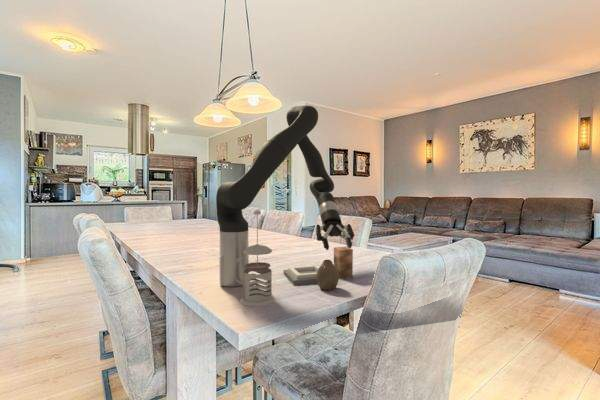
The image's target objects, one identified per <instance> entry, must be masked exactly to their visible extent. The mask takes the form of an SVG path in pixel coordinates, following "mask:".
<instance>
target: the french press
mask: <svg viewBox="0 0 600 400" xmlns="http://www.w3.org/2000/svg"><path fill="white" fill-rule="evenodd" d="M261 214H262V213H261V211H260V210H259V209H256V210H255V211H253V215H256V244H254V245H250V246H249V247H247V248H246V249H244V250H243V253H244V254H247V255H249V256H256V261H255V262H249V263H248V264H246V265H245V268H247V269H245V270H244V283H243V282H241V281H238V280H237V279H236V277H235V267H234V265H235V266H236V264H237V263H238V261H239V260H241V259H242V258H243V262H245V258H244V257H243V256H241V257H242V258H241V257H239V258H241V259H239V258H238V259H239V260H238V259H237V260H238V261H237V260H236V261H237V262H236V261H235V263H236V264H235V263H234V265H233V275H234V278H235V279H236V281H237V282H238V283H240V282H241V283H240V284H243V285H242V297H241V298H240V299H239V303H240V302H241V305H243V304H244V305H245V306H247V307H248V306H249V307H263V306H269V305H271V304H273V303H274V302H275V301H276V297H275V296H274V295H273V294H272V291H273V290H272V287H273V286H272V284H273V283H272V282H273V281H272V277H273V276H272V274H273V273H272V269H271V268H270V267H271V264H270V263H269V262H260V261H259V256H262V255H269V254H271V253H272V252H273V250H272V249H271V248H270V247H268V246H267V245H262V244H259V237H258V236H259V235H258V234H259V231H258V229H259V228H258V227H259V226H258V225H259V223H258V221H259V220H258V215H261ZM252 272H253V273H252ZM247 273H249V274H247ZM256 273H257V274H256Z"/></svg>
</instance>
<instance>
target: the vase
mask: <svg viewBox="0 0 600 400" xmlns="http://www.w3.org/2000/svg"><path fill="white" fill-rule="evenodd" d="M332 261H333V260H331V259H323V262H322V263H321V264H320V266H319V269H318V271H317V275H316V279H317V283H316V284H317V285H318V287H319V288H320V290H323V291H333V290H334V289H335V288H336V287H337V286H338V285H339V280H340V279H339V274H338V271H337V269H336V267H335V266H334V262H332Z"/></svg>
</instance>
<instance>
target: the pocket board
mask: <svg viewBox="0 0 600 400" xmlns="http://www.w3.org/2000/svg"><path fill="white" fill-rule="evenodd" d="M319 267H320V266H319V265H303V266H289V267H288V269H283V275H284V276H285V278H286V279H287V280H288V281H290V283H291V284H292V285H293V286H299V285H300V286H301V285H310V284H311V285H313V284H318V283H317V279H316V275H317V271H318V269H319Z"/></svg>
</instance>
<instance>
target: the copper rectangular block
mask: <svg viewBox="0 0 600 400" xmlns="http://www.w3.org/2000/svg"><path fill="white" fill-rule="evenodd" d="M353 251H354V250H353V248H352V247H351V248H348V247H347V246H338V247H333V265H334V266H335V267H336V269H337V271H338V274H339V280H342V279H344V280H345V279H353V278H354V277H353V276H354V275H353V273H354V272H353V270H354V268H353V265H354V263H353V261H354V260H353V259H354V256H353V255H354V254H353V253H354V252H353Z"/></svg>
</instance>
